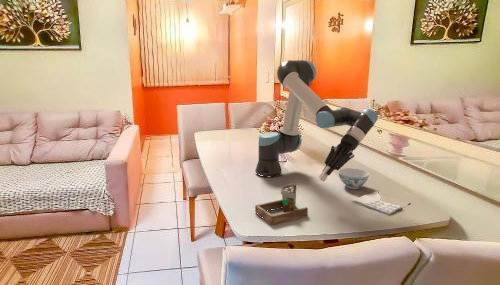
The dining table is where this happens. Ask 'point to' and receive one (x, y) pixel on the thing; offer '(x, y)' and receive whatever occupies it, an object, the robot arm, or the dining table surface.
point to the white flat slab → (376, 203)
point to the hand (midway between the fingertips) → (321, 179)
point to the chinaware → (353, 177)
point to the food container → (289, 197)
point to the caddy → (279, 218)
